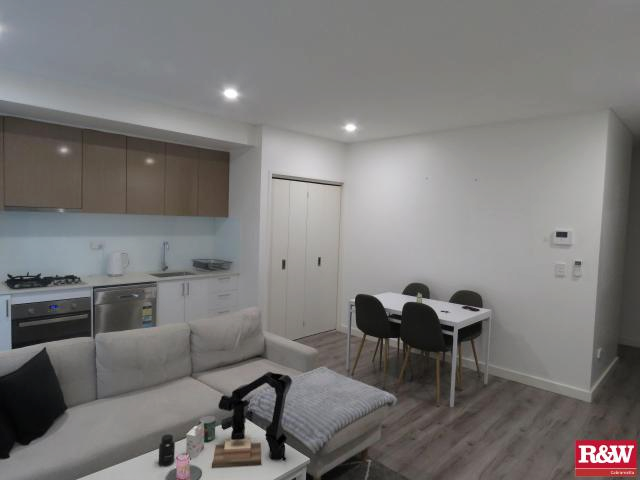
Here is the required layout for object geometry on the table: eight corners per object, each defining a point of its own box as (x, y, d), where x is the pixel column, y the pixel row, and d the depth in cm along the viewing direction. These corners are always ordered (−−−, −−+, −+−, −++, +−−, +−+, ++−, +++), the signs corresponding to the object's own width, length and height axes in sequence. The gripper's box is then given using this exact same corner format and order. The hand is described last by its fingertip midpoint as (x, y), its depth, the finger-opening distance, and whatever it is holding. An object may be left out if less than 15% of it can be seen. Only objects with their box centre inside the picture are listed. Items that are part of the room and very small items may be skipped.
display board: (215, 446, 201) (215, 440, 201) (260, 444, 205) (260, 438, 205) (211, 470, 182) (211, 463, 182) (261, 467, 186) (261, 460, 186)
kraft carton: (225, 449, 198) (225, 439, 198) (250, 447, 200) (250, 437, 199) (223, 459, 189) (224, 449, 189) (250, 458, 191) (250, 448, 190)
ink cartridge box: (194, 448, 199) (195, 419, 198) (204, 450, 198) (204, 420, 197) (185, 458, 191) (186, 427, 190) (195, 460, 190) (196, 429, 189)
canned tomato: (195, 443, 204) (196, 421, 204) (203, 435, 212) (204, 414, 211) (210, 445, 202) (210, 423, 202) (217, 437, 210) (218, 416, 209)
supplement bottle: (167, 468, 183) (167, 442, 182) (155, 464, 185) (155, 438, 185) (177, 460, 189) (178, 434, 189) (165, 456, 192) (166, 431, 191)
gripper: (224, 404, 208) (223, 434, 209) (220, 423, 190) (219, 455, 191) (246, 404, 210) (245, 433, 211) (244, 422, 191) (243, 454, 192)
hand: (238, 443), depth 201 cm, fingers closed
